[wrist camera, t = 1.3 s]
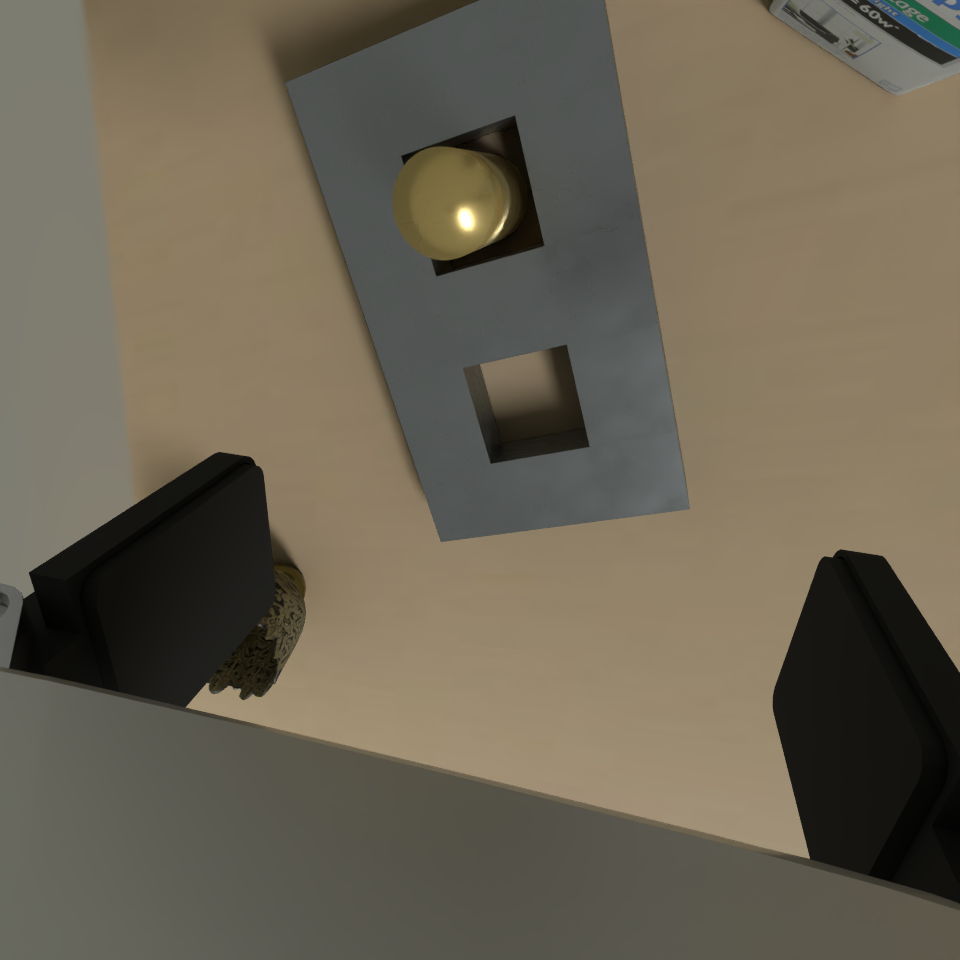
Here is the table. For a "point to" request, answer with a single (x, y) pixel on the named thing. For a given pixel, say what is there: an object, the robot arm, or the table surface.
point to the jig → (504, 263)
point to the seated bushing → (457, 201)
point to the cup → (266, 640)
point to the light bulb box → (883, 37)
